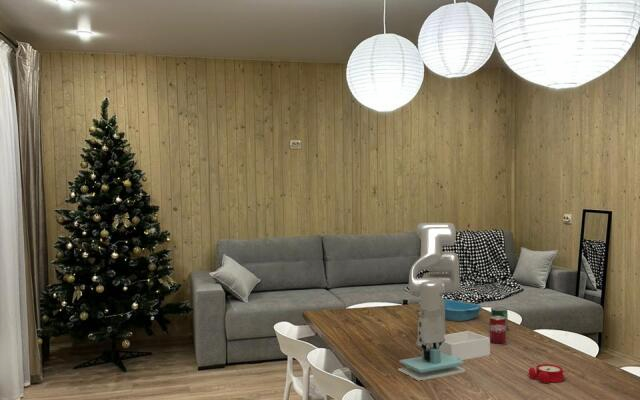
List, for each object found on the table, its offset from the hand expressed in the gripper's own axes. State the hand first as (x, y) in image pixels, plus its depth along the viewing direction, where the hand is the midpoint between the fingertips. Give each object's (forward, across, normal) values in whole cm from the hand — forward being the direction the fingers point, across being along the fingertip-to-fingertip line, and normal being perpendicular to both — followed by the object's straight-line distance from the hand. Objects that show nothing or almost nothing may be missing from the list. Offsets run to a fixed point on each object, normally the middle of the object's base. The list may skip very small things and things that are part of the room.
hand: (431, 359), depth 227 cm
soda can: (+5, +50, +18) cm, 53 cm away
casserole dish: (+6, +66, +75) cm, 100 cm away
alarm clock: (+5, +32, -28) cm, 43 cm away
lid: (+2, 0, 0) cm, 3 cm away
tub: (+5, +23, +11) cm, 26 cm away
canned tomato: (+5, +67, +36) cm, 76 cm away
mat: (+5, 0, 0) cm, 5 cm away
